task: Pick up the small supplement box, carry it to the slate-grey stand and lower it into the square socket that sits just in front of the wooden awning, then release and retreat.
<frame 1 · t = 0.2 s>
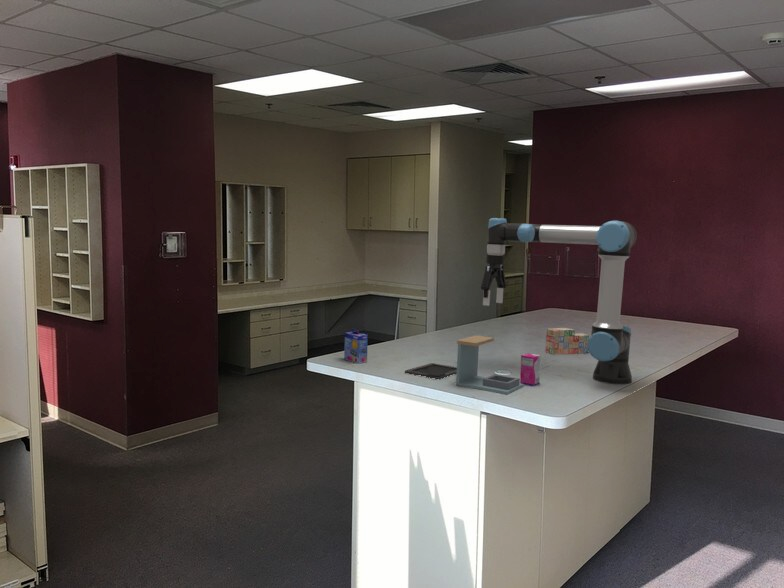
hand: (492, 304, 283), 28 cm above the table, tool pointing down, fingers open, 13 cm apart
picture frame: (434, 373, 273), on the table
socket stand: (500, 387, 250), on the table
stack of blocks: (566, 353, 328), on the table
supplement box: (529, 384, 259), on the table
ink cartridge box: (355, 361, 288), on the table
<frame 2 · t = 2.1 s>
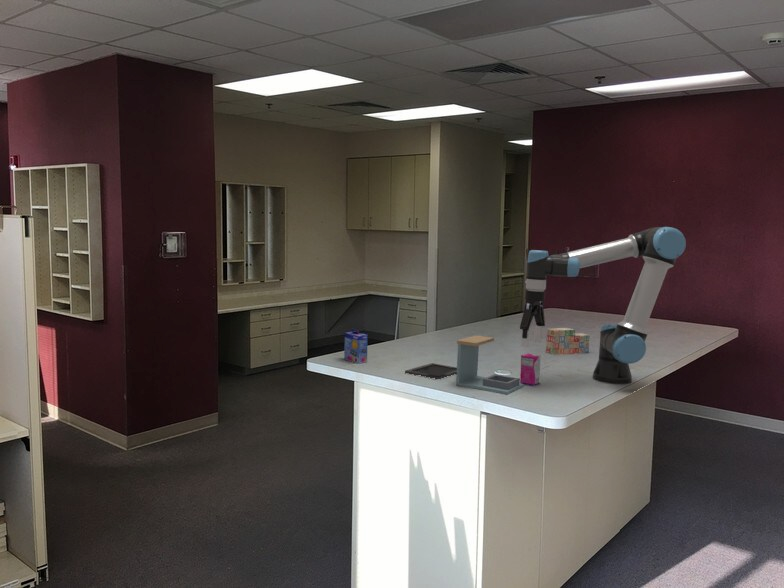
hand: (531, 344, 257), 16 cm above the table, tool pointing down, fingers open, 13 cm apart
nothing on the table moved.
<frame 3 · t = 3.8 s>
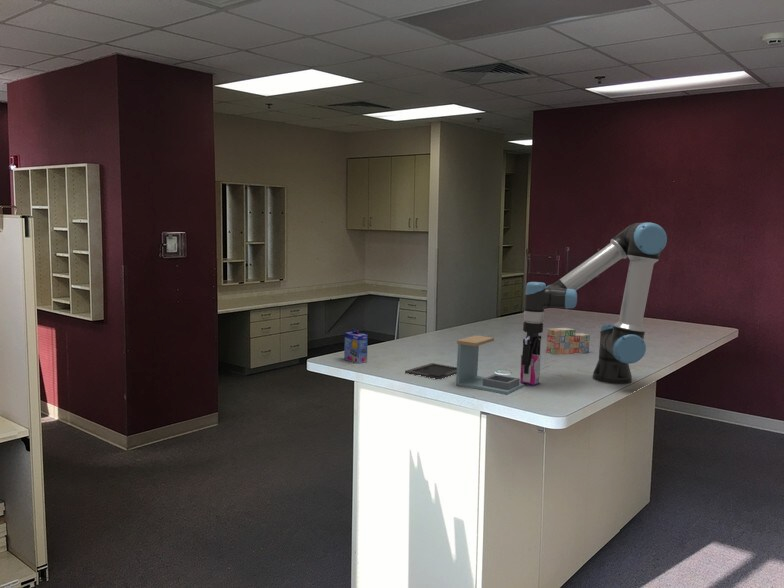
hand: (529, 380, 259), 1 cm above the table, tool pointing down, fingers closed on supplement box, 6 cm apart
supplement box: (529, 384, 259), on the table, touching gripper
everything else where it was.
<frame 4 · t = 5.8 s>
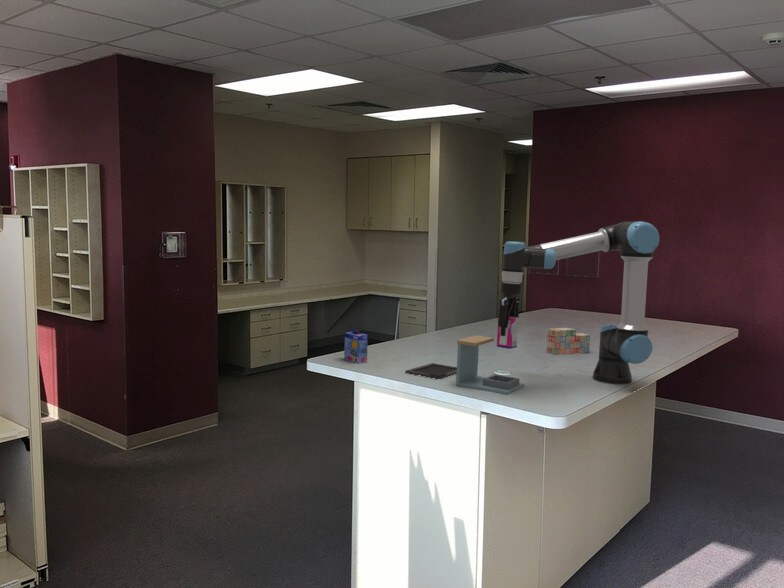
hand: (506, 343, 250), 17 cm above the table, tool pointing down, fingers closed on supplement box, 6 cm apart
supplement box: (506, 347, 250), point 15 cm above the table, touching gripper
everything else where it was.
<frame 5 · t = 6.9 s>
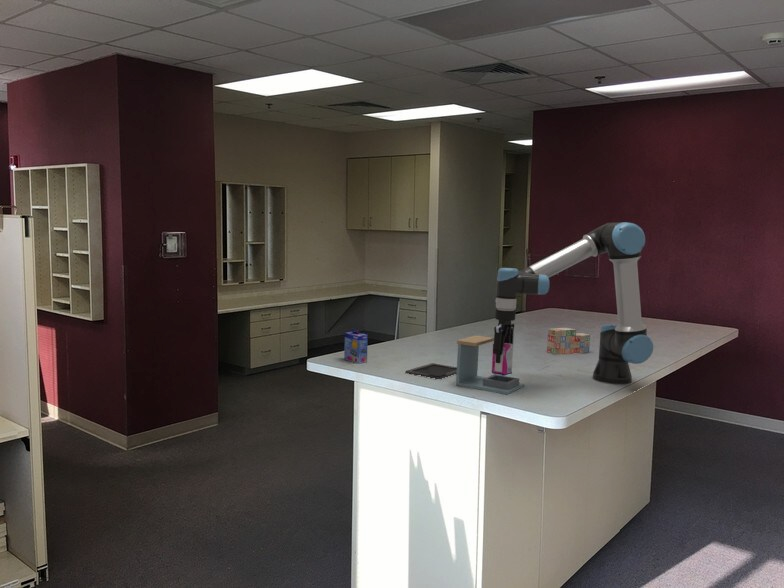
hand: (502, 369, 250), 7 cm above the table, tool pointing down, fingers closed on supplement box, 6 cm apart
supplement box: (501, 374, 250), point 5 cm above the table, touching gripper
when the fingers open (4 cm above the table, at t = 7.8 s): supplement box drops 1 cm, resting on socket stand.
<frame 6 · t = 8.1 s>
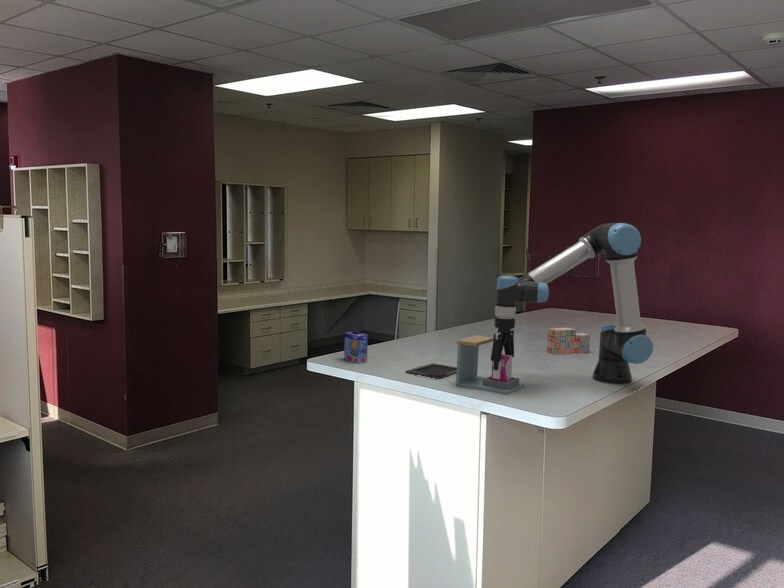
hand: (501, 376, 250), 5 cm above the table, tool pointing down, fingers open, 9 cm apart
supplement box: (500, 385, 250), point 1 cm above the table, touching socket stand
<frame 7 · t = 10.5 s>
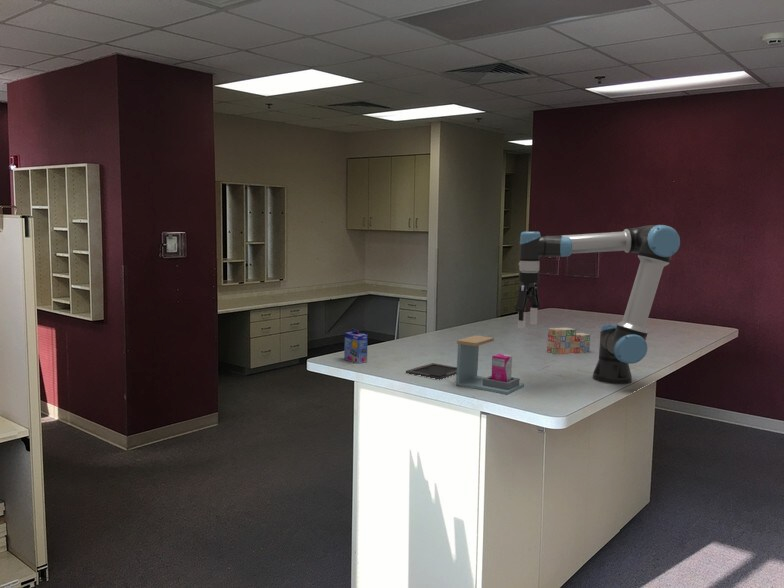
hand: (527, 326, 255), 23 cm above the table, tool pointing down, fingers open, 13 cm apart
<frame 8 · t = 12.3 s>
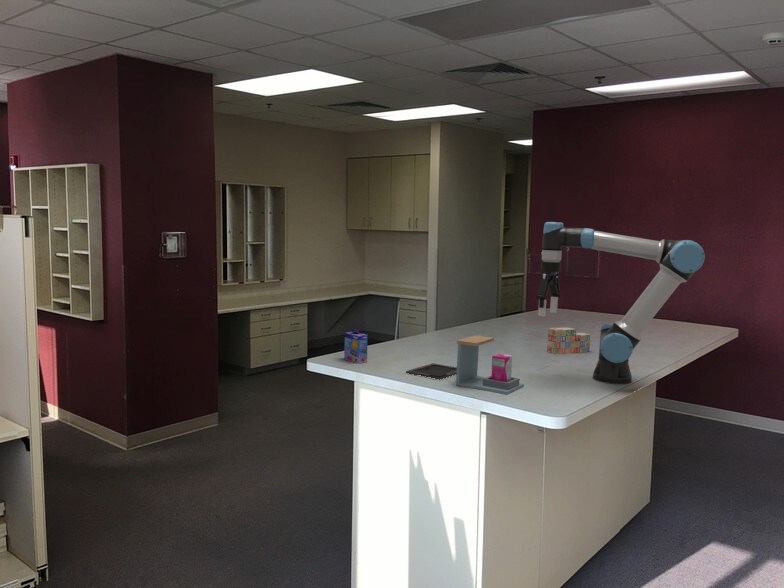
hand: (547, 314, 263), 27 cm above the table, tool pointing down, fingers open, 13 cm apart
at the end: supplement box 0.1 cm off-centre on the socket stand, point 0.8 cm above the socket stand's base; supplement box tilted 0°; the gripper is holding nothing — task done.
